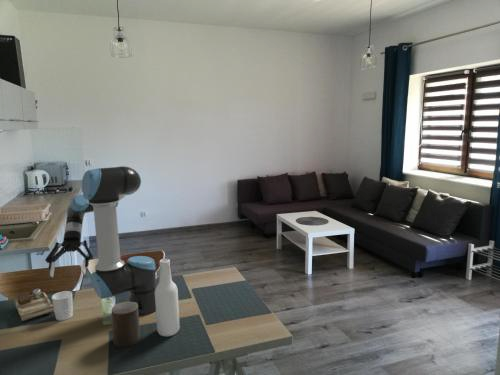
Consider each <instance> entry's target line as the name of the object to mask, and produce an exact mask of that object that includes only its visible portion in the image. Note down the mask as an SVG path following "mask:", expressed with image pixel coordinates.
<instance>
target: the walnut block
mask: <svg viewBox="0 0 500 375" xmlns="http://www.w3.org/2000/svg"><path fill="white" fill-rule="evenodd" d="M30 295H31V293H30V292H29V291H28V290H27V291H23V292H20V293H17V294H16V296H17V299H18V303H19V304H20V305H24V304H27V303H30V302H31V297H30Z"/></svg>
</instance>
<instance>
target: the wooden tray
mask: <svg viewBox="0 0 500 375" xmlns="http://www.w3.org/2000/svg"><path fill="white" fill-rule="evenodd" d="M30 297H31V302H30V303H27V304H24V305H20V304H19V303H18V298H16V299H14V305H15V308H16V310H17V312H18V315H19V317H20V320H21V321H24V322H28V320H30V319H33V318H36V317H39V316H42V315H45V314H46V315H47V314H48V315H50V314H52V313H51V312H54V308H53V302H51V300H50V298H49V297H48V295H47V294H46V292H45V291H41V298H40V299H37V300H34V296H33V294H30Z"/></svg>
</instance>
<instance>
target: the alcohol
mask: <svg viewBox="0 0 500 375" xmlns="http://www.w3.org/2000/svg"><path fill="white" fill-rule="evenodd" d="M170 265H171V260H170V259H169V258H162V259H160V260H159V282H158V283H157V284H156V288H155V304H156V311H155V318H156V319H155V320H156V332H157V333H158V334H159V336H161V337H172V336H174V335H176V334H177V333H178V332H179V331H180V326H181V325H180V312H179V308H180V306H179V292H178V291H179V290H178V286H177V284H176V283H175V282H174V281H173V280H172V273H171V266H170Z"/></svg>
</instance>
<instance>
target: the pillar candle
mask: <svg viewBox="0 0 500 375" xmlns="http://www.w3.org/2000/svg"><path fill="white" fill-rule="evenodd" d="M139 316H140V315H138V305H137V303H135V302H128V301H124V302H118V303H116V304H115V305H113V306H112V307H111V322H112V323H111V324H112V325H111V326H112V337H113V338H112V340H113V345H114V346H115V347H118V348H129V347H132V346H134V345H136V344H137V343H138V342H139V341H140V339H141V332H140V320H139Z"/></svg>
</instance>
